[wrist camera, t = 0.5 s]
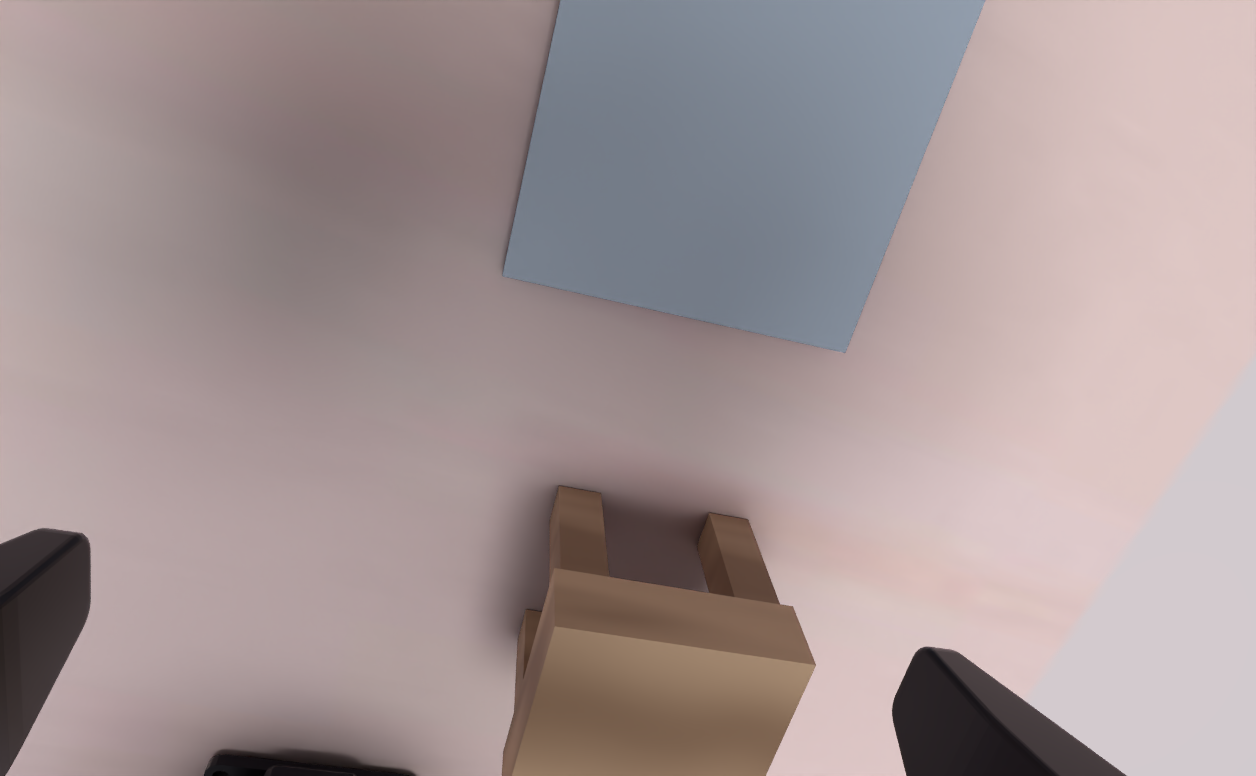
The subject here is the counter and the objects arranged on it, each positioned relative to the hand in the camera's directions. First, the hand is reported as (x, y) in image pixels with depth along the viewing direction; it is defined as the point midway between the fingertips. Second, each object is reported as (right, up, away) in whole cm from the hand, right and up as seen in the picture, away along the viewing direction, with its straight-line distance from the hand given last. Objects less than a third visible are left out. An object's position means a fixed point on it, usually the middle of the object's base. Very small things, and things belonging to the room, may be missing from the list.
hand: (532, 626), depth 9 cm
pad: (+3, +8, +11) cm, 14 cm away
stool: (+1, -3, +16) cm, 16 cm away
